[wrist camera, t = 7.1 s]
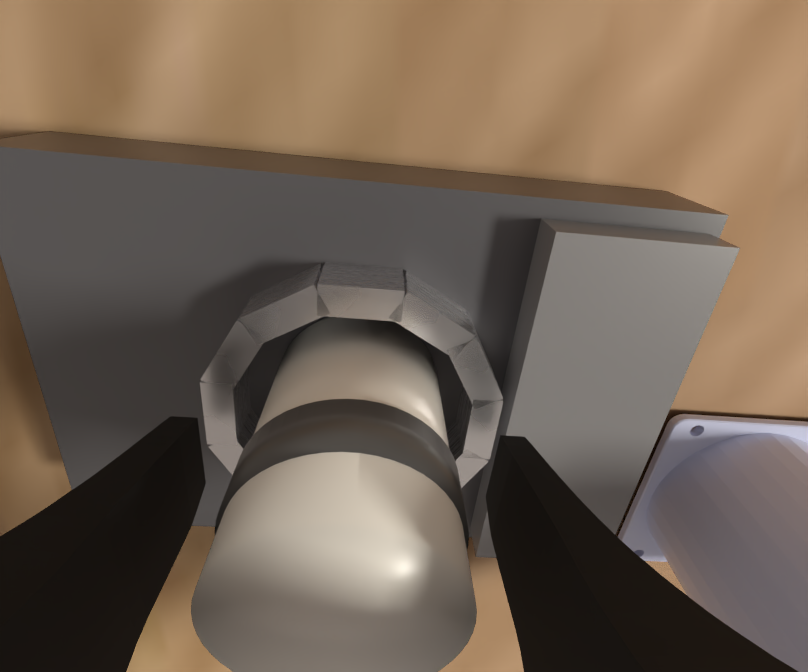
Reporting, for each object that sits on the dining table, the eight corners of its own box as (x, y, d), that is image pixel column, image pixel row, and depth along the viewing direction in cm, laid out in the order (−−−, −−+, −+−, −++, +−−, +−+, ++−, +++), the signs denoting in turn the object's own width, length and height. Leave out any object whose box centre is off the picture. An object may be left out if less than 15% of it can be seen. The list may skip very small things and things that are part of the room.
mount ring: (512, 277, 13) (527, 300, 11) (466, 493, 16) (473, 530, 15) (208, 252, 12) (186, 273, 11) (230, 482, 16) (216, 519, 14)
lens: (456, 323, 13) (519, 536, 7) (423, 455, 15) (447, 707, 9) (280, 297, 13) (179, 503, 6) (271, 438, 15) (188, 692, 9)
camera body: (667, 191, 15) (761, 228, 11) (567, 482, 20) (607, 571, 16) (49, 131, 13) (-81, 150, 10) (124, 459, 19) (60, 551, 15)
